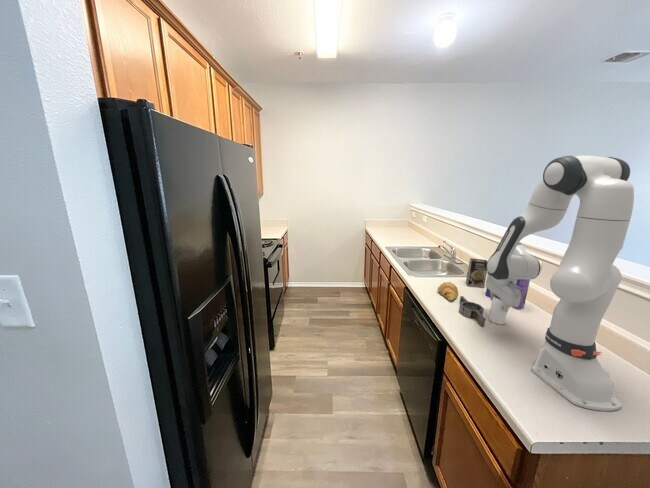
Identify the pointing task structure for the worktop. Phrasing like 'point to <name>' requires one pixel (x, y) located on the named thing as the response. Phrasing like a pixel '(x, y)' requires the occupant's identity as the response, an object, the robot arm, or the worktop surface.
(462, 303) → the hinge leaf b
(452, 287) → the croissant
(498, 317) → the can
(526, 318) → the worktop surface
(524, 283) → the cereal box
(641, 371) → the worktop surface
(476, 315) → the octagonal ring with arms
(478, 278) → the coffee box
